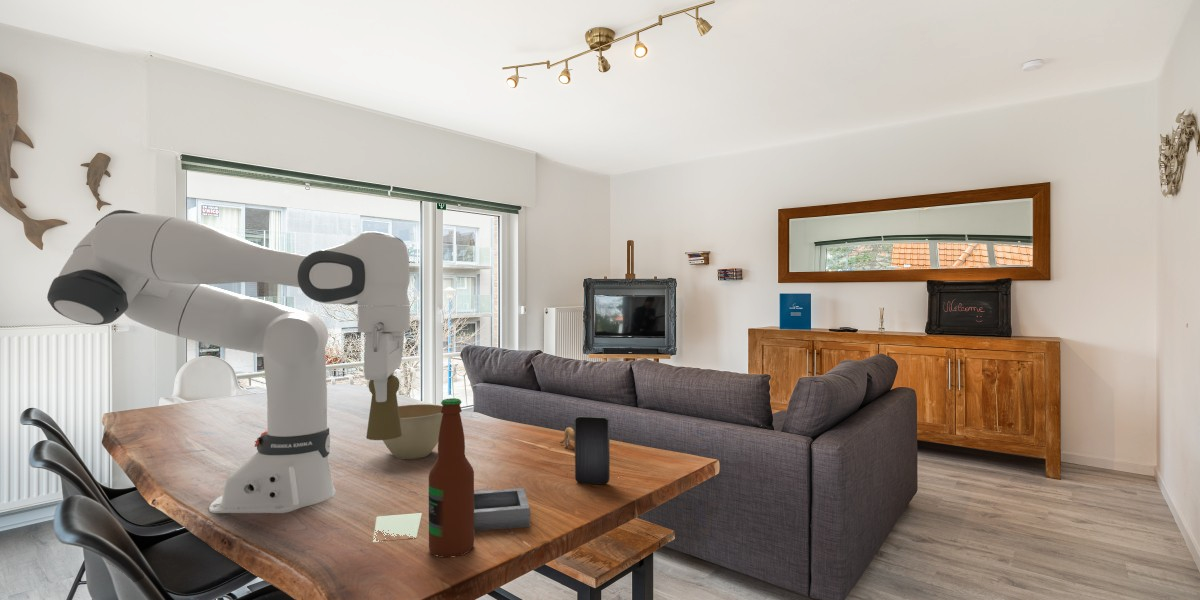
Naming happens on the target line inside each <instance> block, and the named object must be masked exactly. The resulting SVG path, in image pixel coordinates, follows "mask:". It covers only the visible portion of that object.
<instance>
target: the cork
mask: <svg viewBox="0 0 1200 600" xmlns="http://www.w3.org/2000/svg"><path fill="white" fill-rule="evenodd" d="M368 381H369V382H368V390H369V392H370V393H371V401H370V409H369V415H368V422H367V429H366V436H365V437H366V439H367V440H369V441H370V440H371V441H383V440H388V439H394V438H398V437H400V436H402V431H401V424H400V417H399V410H398V406H399V402H398V397H397V393H398V391H399V389H400V380H399V378H398V377H397V376H396V375H394V376H393V375H390V376H389V377H388V382H387V391H388V399H387V400H386V401H385V402H377V401H376V392H375V387H374V380H368Z"/></svg>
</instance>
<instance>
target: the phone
mask: <svg viewBox="0 0 1200 600" xmlns="http://www.w3.org/2000/svg"><path fill="white" fill-rule="evenodd" d="M574 430H575V451H574V480H575V481H576V482H577V483H578V484H590V485H603V486H604V485H607V484H608V483H609V481H610V475H611V473H610V471H611V470H610V468H611V467H610V461H611V460H610V458H611V457H610V454H611V453H610V419H609V418H608V417H606V416H594V415H593V416H591V415H589V416H588V415H586V416H585V415H579V416H577V417H576V418H575V419H574Z"/></svg>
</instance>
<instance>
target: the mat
mask: <svg viewBox="0 0 1200 600" xmlns="http://www.w3.org/2000/svg"><path fill="white" fill-rule="evenodd" d="M422 516H423V512H417V513H415V512H414V513H406V514H404V513H403V514H394V515H393V514H390V515H379V516H376V519H375V525H374V532H373V536H372V537H373V538H372V539H374V538H375V536H374V535H376V533H375V532H377V531H378V530H379V531H381V532H382V531H383V530H384V531H383V532H384V534H385V535H387V534H386V533H389V534H390V535H391V534H392V535H391V536H394V535H395V536H397V535H396V534H399V535H400V536H401V535H402V536H403V535H405V534H406V535H407V536H409V537H410V536H413V537H415V538H416V537H417V536H418V532H419V528H420V523H421V520H422ZM375 530H376V531H375ZM388 530H389V531H388ZM383 532H382V533H383ZM385 532H386V533H385ZM377 533H378V532H377ZM393 533H394V534H393ZM384 534H383V535H384ZM389 534H388V535H389ZM409 534H410V535H409ZM385 535H384V536H385ZM376 536H377V535H376ZM395 536H394V537H395ZM385 539H386V538H385ZM416 539H417V538H416ZM412 540H415V539H414V538H413V539H412ZM380 542H381V541H380ZM380 542H379V540H378V541H376V538H375V539H374V540H372V543H380Z"/></svg>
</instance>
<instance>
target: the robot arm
mask: <svg viewBox="0 0 1200 600" xmlns="http://www.w3.org/2000/svg"><path fill="white" fill-rule="evenodd" d="M410 276H411V275H410V259H409V250H408V248H407V245H406V243H405V242H404V241H403V240H402V239H401V238H400V237H398V236H397V235H393V234H389V233H385V232H379V231H374V230H373V231H372V230H371V231H370V230H367V231H364V232H361V233H360V234H359V235H358V236H356V237H355V238H353V239H351V240H349V241H346V242H344V243H341V244H340V245H336V246H333V247H329V248H325V249H324V248H323V249H321V250H318V251H314V252H312V253H310V254H308V255H305V254H299V253H293V252H287V251H282V250H276V249H272V248H268V247H266V246H261V245H260V244H257V243H254V242H252V241H249V240H247V239H244V238H241V237H239V236H237V235H234V234H232V233H230V232H226V231H224V230H221V229H219V228H217V227H214V226H211V225H208V224H204V223H200V222H197V221H195V220H194V221H193V220H191V219H184V218H180V217H175V216H168V215H159V214H150V213H149V214H148V213H141V212H139V211H133V210H126V209H117V210H113V211H111V212H109V213H107V214H105V215H104V216H102V218H100V219H99V220H98V221H97V222H95V227H93V228H92V229H91V230H90V231H89V232H88V233H87V234H86V235H85V236H84V237H83V238H82V239H81V240H80V241H79V242H78V243H77V245H76V246H75V247H74V249H73V251H72V254H71V255H70V256H69V258H68V260H66V262H65V264H64V265H63V267H62V269H61V271H60V272H59V274H58V276H56V277H55V278H53V280H52V281H51V284H50V286H49V290H48V293H47V297H46V298H47V301H48V303H49V304H50V306H51V307H52V309H53V310H54V311H55V312H57V313H58V314H59V315H62V316H63V317H65V318H67V319H69V320H71V321H73V322H78V323H81V324H85V325H90V326H99V325H109V324H111V323H113V322H115V321H117V319H119V318H120V317H121V316H122V315H123V314H124V315H125V316H126V317H127V318H129V319H130V320H132V321H134V322H137V323H138V324H141V325H142V326H143V325H144V326H146V327H149V328H151V329H153V330H157V331H160V332H162V333H166V334H169V335H172V336H176V337H179V338H184V339H187V340H191V341H196V342H199V343H203V344H206V345H207V344H208V345H212V346H216V347H220V348H223V349H228V350H235V351H241V352H248V353H251V354H252V353H253V354H258V355H262V356H263V357H262V358H263V368H264V369H263V370H264V381H265V387H266V399H267V402H266V404H267V408H266V409H267V410H266V411H267V413H266V414H267V416H266V417H267V421H266V422H267V423H266V424H267V426H266V427H267V430H265V431H263V432H262V433H261V434H260V436H258V437H257V438H256V440H255V441H254V447H256V450H257V452H256V453H255V454H253V455H252V456H250V457H249V458H248V459H247V460H246V461H244V462H243V463H242V464H241V465H240V466H238V467H237V468H236V469H234V470H233V471H231V473H230V474H229V475H228V477H227V478H226V480H225V483H224V486H223V492H222V495H220V496H218V497H217V498H216V499H214V500H213V501H212V502H211V504H210V505H209V507H208V511H209V513H211V514H285V513H289V512H294V511H296V510H298V509H302V508H304V507H308V506H313V505H316V504H319V503H322V502H325V501H327V500H329V499H331V498H333V497H334V496H335V494H336V492H337V490H336V488H335V486H334V485H335V484H334V482H333V477H332V473H331V469H330V468H331V467H330V460H329V454H330V451H331V434H330V427H328V388H327V369H326V368H327V366H326V347H327V345H328V341H329V332H328V328H327V326H326V324H325V322H324V321H323V320H322V319H321V318H320V317H319V316H317V315H316V314H314V313H311V312H307V311H304V310H300V309H296V308H293V307H289V306H285V305H282V304H279V303H275V302H271V301H266V300H262V299H259V298H255V297H251V296H247V295H243V294H240V293H236V292H233V291H230V290H226V289H224V288H223V289H222V288H220V287H217V286H212V285H219V284H220V285H221V284H236V283H266V284H275V285H280V286H281V285H282V286H287V287H295V288H299V289H300V290H301V291H302V293H303V294H304V295H305V296H306V297H308V298H309V299H310V300H313V301H315V302H316V303H321V304H328V305H346V306H352V305H357V332H359V333H365V335H364V336H365V339H364V341H365V342H364V359H363V362H364V363H363V367H364V368H363V374H364V378H365V380H367V381H370V380H374V387H375V392H376V401H377V402H385V401H386V400H387V399H388V391H387V382H388V377H389V376H390V375H393V376H395V371H396V370H397V369H398V368H399V367H401V364H402V360H403V359H402V358H403V349H404V341H405V339H404V338H405V332H409V331H410V330H411V329H410V327H411V325H410V324H411V318H410V317H411V314H410V312H411V311H410V310H411V309H410V308H411V307H410V299H409V296H408V291H409V290H408V289H409V286H410V281H411V279H410V278H411V277H410Z"/></svg>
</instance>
